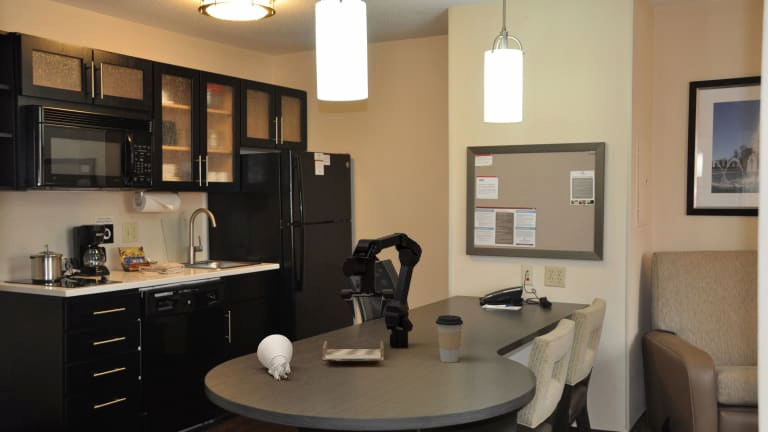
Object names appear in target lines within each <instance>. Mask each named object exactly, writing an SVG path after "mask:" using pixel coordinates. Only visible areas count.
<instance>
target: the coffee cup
mask: <svg viewBox="0 0 768 432" xmlns="http://www.w3.org/2000/svg"><path fill="white" fill-rule="evenodd" d="M435 324H436V325H437V338H438V339H437V340H438V348H439V357H440V361H441V362H443V363H456V362H459V354H460V347H461V342H462V341H461V340H462V332H463V331H462V326H463V324H464V321H463V319H462V317H461V316H459V315H452V314H451V315H446V314H445V315H439V316H437V319H436V320H435Z"/></svg>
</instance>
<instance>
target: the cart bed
mask: <svg viewBox="0 0 768 432" xmlns="http://www.w3.org/2000/svg"><path fill="white" fill-rule="evenodd" d="M321 350H322V351H321V352H322V353H321V355H322V356H321V357H322V358H321V359H323V360H336V361H342V360H341V359H325V355H380V358H379V359H365V360H364V361H385V358H384V357H385V355H384V354H385V353H384V351H385V350H384V341H383V340H379V348H355V349H354V348H351V349H349V348H338V349H337V348H336V349H335V348H334V349H333V348H330V349H329V348H328V340H324V341H323V346H322V348H321Z"/></svg>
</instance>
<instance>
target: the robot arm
mask: <svg viewBox="0 0 768 432" xmlns="http://www.w3.org/2000/svg"><path fill="white" fill-rule="evenodd" d="M392 247H394V249H395V251H397V252H398V261H399V263H400V267H399V273H398V276H397V277H398V278H397V282H396V287H395V291H394V290H393V289H391V288H390V289H387V288H385V289H382V291H377V289H376V287H377V286H376V285H377V283H376V282H377V281H376V280H377V279H376V277H377V276H376V268H377V266H376V265H377V262H380V261H381V260H380V258H379V257H378V256H377V255H378V254H380V253H381V252H382V251H383V250H384V249H388V248H392ZM422 253H423V250H422V247H421V245H419V244H418V242H417V241H415V240H414V239H412V238H411V237H409V236H408V235H407V234H406V233H405V232H394V233H392V234H388V235H385V236H382V237H378V238H360V239H359V240H358V241H357V243H356V245H355V247H354V250H353V252H352V254H351V256H349V257H346V261H344V262H343V264H342V267H341V268H342V269H341V271H342V273H343V275H344V276H345V277H346V278H354V277H359V279H355V289H356V290H359V291H353V289H342V290H341V291H340V299H341V300H344V302H345V303H346V302H347V304H348V305H349V308H350V310H351V314H352V317H353V319H354V320H356V311H355V303H354V302H355V301H354V298H381V303H380V310H379V311H380V312H379V319H380V320H381V319H382V317H383V316H384V323H385V326H386V330H390V333H389V334H388V335H389V339H388V341H389V342H388V343H389V346H390V348H391V349H408V348H409V333H410V332H412V331H413V327H414V324H413V323H412V321H411V320H410V319H409V315H410V313H409V310H408V306H407V303H408V299H409V298H408V297H409V293H410V286H411V282H412V277H413V272H414V269H415V267H416V266H417V265H418V263H419V262H420V259H421V256H422ZM391 301H392V303H391V304H389V305H387V304H388V303H389V302H391ZM384 312H385V313H384ZM383 314H384V315H383Z"/></svg>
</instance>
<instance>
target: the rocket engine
mask: <svg viewBox="0 0 768 432" xmlns="http://www.w3.org/2000/svg"><path fill="white" fill-rule="evenodd" d="M256 356H257V358H258V360H259V361H260V363H261V364H262V365H263V366H265V368H267V369H268V374H269V373H270V374H269V375H272V376H273V377H274V379H275V378H276V379H279V380H281V378H280V377H285V378H286V379H287V377H288V375H286V374H290V373H291V372H292V371H291V367H290V363H291V360H292V358H293V344H292V342H291V341H290V339H288V338H287V337H286V336H285V335H282V334H271V335H268V336H266V337H265V338H264V339H263V340H261V342H260V343H259V345H258V347H257V355H256ZM285 378H284V379H285ZM276 379H275V380H276Z"/></svg>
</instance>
